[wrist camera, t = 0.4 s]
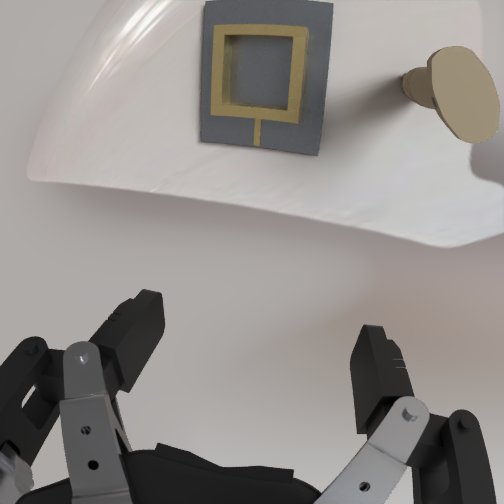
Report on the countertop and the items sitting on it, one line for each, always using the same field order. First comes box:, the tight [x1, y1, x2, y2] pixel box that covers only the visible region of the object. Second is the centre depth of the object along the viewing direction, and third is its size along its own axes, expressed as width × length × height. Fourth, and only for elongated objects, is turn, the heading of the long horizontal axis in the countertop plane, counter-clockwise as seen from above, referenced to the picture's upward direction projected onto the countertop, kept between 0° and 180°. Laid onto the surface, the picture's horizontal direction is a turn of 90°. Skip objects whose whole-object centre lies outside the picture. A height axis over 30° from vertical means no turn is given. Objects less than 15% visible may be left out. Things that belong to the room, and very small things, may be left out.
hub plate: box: [201, 0, 333, 156], centre depth 27 cm, size 18×14×4 cm
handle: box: [401, 46, 500, 143], centre depth 18 cm, size 5×6×15 cm
